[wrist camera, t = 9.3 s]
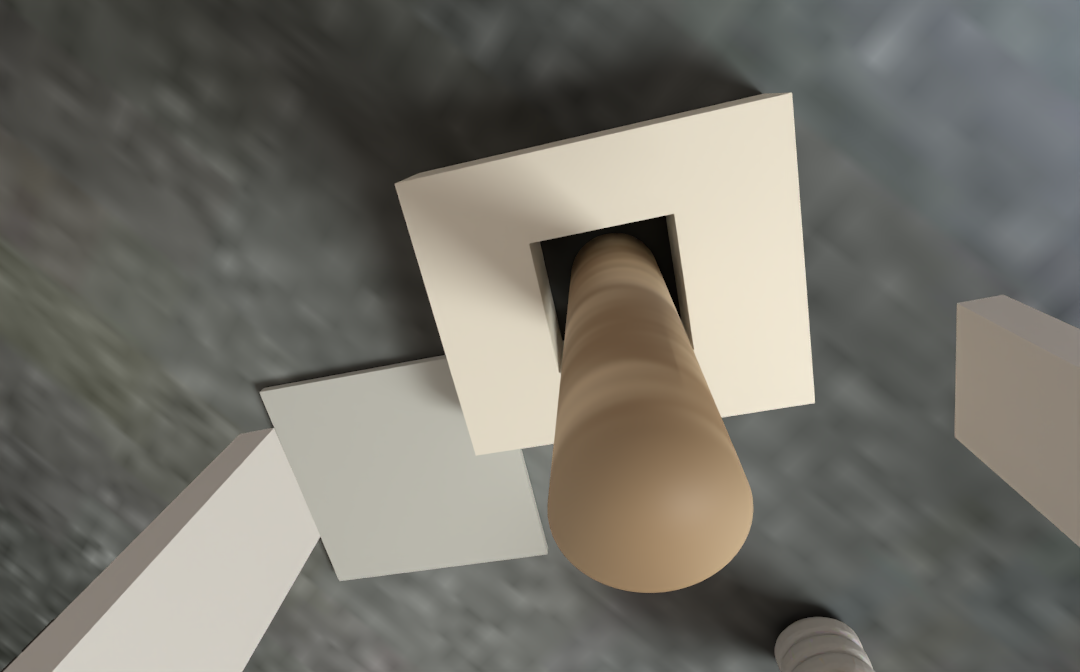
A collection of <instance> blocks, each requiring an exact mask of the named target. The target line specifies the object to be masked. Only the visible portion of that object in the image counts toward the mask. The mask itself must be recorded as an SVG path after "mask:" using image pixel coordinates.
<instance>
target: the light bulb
mask: <svg viewBox="0 0 1080 672" xmlns="http://www.w3.org/2000/svg"><path fill="white" fill-rule="evenodd" d="M774 651H775V658H776V661H777V664H778V667H779V669H780V671H781V672H875V671H874V670H873V668H872V665H871V662H870V660H869V658H868V656H867V655H866V653H865V651H864V650H863V646H862V644H861V642H860V640H859V638H858V636H857V635H856V634H855V632H854V631H853V630H852V629H851V628H850V627H849V626H847V625H846V624H845V623H843V622H841V621H838V620H836V619H832V618H827V617H808V618H805V619H801V620H798V621H796V622H794V623H793V624H791V625H790V626H788V627H787V628H786V629H785V630H783V631H782V632H781V634H780V635H779V636H778V638H777V641H776V645H775V650H774Z"/></svg>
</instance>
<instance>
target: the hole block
mask: <svg viewBox="0 0 1080 672" xmlns="http://www.w3.org/2000/svg"><path fill="white" fill-rule="evenodd" d="M395 187H396V191H397V194H398V197H399V201H400V204H401V207H402V211H403V214H404V218H405V221H406V224H407V228H408V231H409V234H410V238H411V241H412V244H413V248H414V251H415V254H416V258H417V261H418V264H419V268H420V271H421V274H422V278H423V281H424V284H425V288H426V291H427V294H428V298H429V301H430V304H431V308H432V311H433V314H434V318H435V321H436V324H437V328H438V331H439V334H440V338H441V341H442V344H443V348H444V351H445V354H446V358H447V361H448V364H449V368H450V371H451V375H452V378H453V381H454V385H455V388H456V391H457V395H458V398H459V401H460V405H461V408H462V411H463V415H464V418H465V421H466V425H467V428H468V431H469V435H470V438H471V441H472V445H473V448H474V451H475V455H476V456H477V455H484V454H490V453H496V452H503V451H509V450H516V449H522V448H529V447H535V446H541V445H548V444H554V437H555V428H556V418H557V408H558V398H559V388H560V378H561V369H562V359H563V349H564V341H562V337H561V333H560V328H559V324H558V319H557V315H556V310H555V306H554V302H553V297H552V293H551V288H550V284H549V279H548V275H547V270H546V266H545V262H544V257H543V253H542V248H541V244H540V241H544V240H549V239H554V238H559V237H563V236H568V235H573V234H578V233H583V232H588V231H592V230H597V229H602V228H607V227H612V226H617V225H622V224H626V223H631V222H636V221H641V220H646V219H651V218H655V217H660V216H665V215H666V222H667V228H668V235H669V242H670V248H671V255H672V261H673V268H674V275H675V281H676V288H677V294H678V301H679V308H680V314H681V319H680V320H681V322H682V325H683V327H684V329H685V332H686V334H687V337H688V339H689V341H690V344H691V346H692V349H693V351H694V353H695V356H696V358H697V361H698V363H699V365H700V368H701V370H702V373H703V375H704V377H705V380H706V382H707V385H708V387H709V389H710V392H711V394H712V396H713V399H714V401H715V404H716V406H717V408H718V411H719V413H720V416H721V417H727V416H734V415H740V414H747V413H753V412H760V411H766V410H772V409H779V408H785V407H792V406H798V405H804V404H811V403H815V396H814V383H813V369H812V356H811V343H810V329H809V316H808V302H807V289H806V275H805V262H804V248H803V235H802V221H801V208H800V195H799V181H798V168H797V154H796V141H795V127H794V114H793V100H792V93H770V94H760V95H756V96H751V97H747V98H743V99H738V100H734V101H730V102H725V103H721V104H717V105H712V106H708V107H704V108H699V109H695V110H691V111H686V112H682V113H678V114H673V115H669V116H665V117H660V118H656V119H652V120H647V121H643V122H639V123H634V124H630V125H625V126H621V127H617V128H612V129H608V130H604V131H599V132H595V133H591V134H586V135H582V136H578V137H573V138H569V139H565V140H560V141H556V142H552V143H547V144H543V145H539V146H534V147H530V148H526V149H521V150H517V151H513V152H508V153H504V154H500V155H495V156H491V157H486V158H482V159H478V160H473V161H469V162H465V163H460V164H456V165H452V166H447V167H443V168H439V169H434V170H430V171H426V172H421V173H418V174H416V175H413V176H411V177H409V178H406V179H404V180H402V181H400V182H397V183H395Z"/></svg>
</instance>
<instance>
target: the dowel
mask: <svg viewBox="0 0 1080 672" xmlns="http://www.w3.org/2000/svg"><path fill="white" fill-rule="evenodd" d="M752 517H753V498H752V493H751V488H750V486H749V483H748V481H747V478H746V476H745V473H744V471H743V468H742V466H741V464H740V461H739V459H738V456H737V454H736V452H735V449H734V447H733V444H732V442H731V440H730V437H729V435H728V432H727V430H726V428H725V425H724V423H723V420H722V418H721V416H720V413H719V411H718V408H717V406H716V404H715V401H714V399H713V396H712V394H711V392H710V389H709V387H708V385H707V382H706V380H705V377H704V375H703V373H702V370H701V368H700V365H699V363H698V361H697V358H696V356H695V353H694V351H693V349H692V346H691V344H690V341H689V339H688V337H687V334H686V332H685V329H684V327H683V325H682V322H681V320H680V317H679V315H678V313H677V310H676V308H675V305H674V303H673V301H672V298H671V296H670V293H669V291H668V289H667V286H666V284H665V282H664V279H663V277H662V274H661V272H660V270H659V267H658V265H657V262H656V260H655V258H654V256H653V254H652V252H651V251H650V249H649V248H648V247H647V246H646V245H645V244H644V243H643V242H642V241H640V240H639V239H637V238H635V237H633V236H631V235H628V234H624V233H607V234H603V235H600V236H598V237H595V238H593V239H592V240H590V241H589V242H587V243H586V244H585V245H584V246H583V247H582V248H581V249H580V251H579V252H578V254H577V255H576V257H575V259H574V262H573V265H572V271H571V280H570V290H569V300H568V310H567V319H566V329H565V339H564V349H563V359H562V369H561V378H560V388H559V398H558V408H557V418H556V428H555V437H554V447H553V457H552V467H551V477H550V487H549V496H548V520H549V525H550V529H551V532H552V535H553V538H554V540H555V541H556V543H557V545H558V547H559V549H560V550H561V551H562V553H563V554H564V556H565V557H566V558H567V559H568V560H569V561H570V562H571V563H572V564H573V565H574V566H575V567H576V568H578V569H579V570H580V571H581V572H583V573H584V574H586V575H587V576H589V577H591V578H592V579H594V580H596V581H598V582H600V583H602V584H605V585H608V586H611V587H613V588H617V589H621V590H625V591H632V592H640V593H658V592H668V591H674V590H678V589H682V588H686V587H689V586H692V585H694V584H697V583H699V582H701V581H703V580H705V579H707V578H709V577H711V576H712V575H714V574H715V573H717V572H718V571H720V570H721V569H722V568H723V567H724V566H726V565H727V564H728V563H729V562H730V561H731V560H732V559H733V557H734V556H735V555H736V554H737V553H738V551H739V550H740V548H741V547H742V545H743V544H744V542H745V540H746V538H747V535H748V533H749V530H750V527H751V523H752Z"/></svg>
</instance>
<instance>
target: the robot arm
mask: <svg viewBox="0 0 1080 672" xmlns="http://www.w3.org/2000/svg"><path fill="white" fill-rule="evenodd" d="M955 438H957V439H958V440H959V441H960V442H961V443H962V444H963V445H964V446H966V447H967V448H968V449H969V450H970V451H971V452H972V453H974V454H975V455H976V456H977V457H978V458H979V459H980V460H981V461H983V462H984V463H985V464H986V465H987V466H988V467H989V468H991V469H992V470H993V471H994V472H995V473H996V474H997V475H999V476H1000V477H1001V478H1002V479H1003V480H1004V481H1005V482H1006V483H1008V484H1009V485H1010V486H1011V487H1012V488H1013V489H1014V490H1016V491H1017V492H1018V493H1019V494H1020V495H1021V496H1022V497H1024V498H1025V499H1026V500H1027V501H1028V502H1029V503H1030V504H1031V505H1033V506H1034V507H1035V508H1036V509H1037V510H1038V511H1039V512H1041V513H1042V514H1043V515H1044V516H1045V517H1046V518H1047V519H1048V520H1050V521H1051V522H1052V523H1053V524H1054V525H1055V526H1056V527H1058V528H1059V529H1060V530H1061V531H1062V532H1063V533H1064V534H1066V535H1067V536H1068V537H1069V538H1070V539H1071V540H1072V541H1073V542H1075V543H1076V544H1077V545H1078V546H1079V547H1080V329H1078V328H1076V327H1073V326H1071V325H1069V324H1067V323H1065V322H1062V321H1060V320H1058V319H1056V318H1054V317H1051V316H1049V315H1047V314H1045V313H1042V312H1040V311H1038V310H1036V309H1034V308H1031V307H1029V306H1027V305H1025V304H1023V303H1020V302H1018V301H1016V300H1014V299H1011V298H1009V297H1007V296H1005V295H1000V296H994V297H989V298H983V299H978V300H972V301H967V302H961V303H957V334H956V390H955ZM319 538H320V534H319V532H318V529H317V527H316V525H315V522H314V520H313V518H312V515H311V513H310V511H309V508H308V506H307V504H306V501H305V499H304V497H303V494H302V492H301V490H300V487H299V485H298V483H297V480H296V478H295V476H294V473H293V471H292V469H291V466H290V464H289V462H288V459H287V457H286V455H285V452H284V450H283V448H282V445H281V443H280V441H279V438H278V436H277V434H276V431H275V429H274V428H271V429H265V430H260V431H254V432H249V433H243V434H239V435H238V436H237V437H236V438H235V439H234V440H233V441H232V442H231V443H230V444H229V445H228V446H227V447H226V448H225V449H224V450H223V451H222V452H221V453H220V454H219V455H218V456H217V457H216V458H215V459H214V460H213V461H212V462H211V463H210V464H209V465H208V466H207V467H206V468H205V469H204V470H203V471H202V472H201V473H200V474H199V475H198V476H197V477H196V478H195V479H194V480H193V481H192V482H191V484H190V485H189V486H188V487H187V488H186V489H185V490H184V491H183V492H182V493H181V494H180V495H179V496H178V497H177V498H176V499H175V500H174V501H173V502H172V503H171V504H170V505H169V506H168V507H167V508H166V509H165V510H164V511H163V512H162V513H161V514H160V515H159V516H158V517H157V518H156V519H155V520H154V521H153V522H152V523H151V524H150V525H149V526H148V527H147V528H146V529H145V530H144V531H143V532H142V533H141V534H140V535H139V536H138V537H137V538H136V539H135V540H134V541H133V542H132V543H131V544H130V545H129V546H128V547H127V548H126V549H125V550H124V551H123V552H122V553H121V554H120V555H119V556H118V557H117V558H116V559H115V560H114V561H113V562H112V563H111V564H110V565H109V566H108V567H107V568H106V569H105V570H104V571H103V572H102V573H101V574H100V575H99V576H98V577H97V578H96V579H95V580H94V581H93V582H92V583H91V584H90V585H89V586H88V587H87V588H86V589H85V590H84V591H83V592H82V593H81V594H80V595H79V596H78V597H77V598H76V599H75V600H74V601H73V602H72V603H71V604H70V605H69V606H68V607H67V608H66V609H65V610H64V611H63V612H62V613H61V614H60V615H59V616H57V617H56V618H55V619H53V620H52V621H51V622H50V623H49V624H48V625H47V626H46V627H45V628H44V629H43V630H42V631H41V632H40V633H39V634H38V635H37V636H36V637H35V638H34V639H33V640H32V641H31V642H30V643H29V644H28V645H27V646H26V647H25V648H24V649H23V650H22V653H21V654H20V655H19V656H18V657H15V658H14V659H13V660H12V661H11V662H10V663H9V664H8V665H7V666H6V667H5V668H4V669H3V670H2V671H1V672H242V671H243V669H244V668H245V666H246V664H247V662H248V661H249V659H250V657H251V656H252V654H253V652H254V650H255V649H256V647H257V645H258V643H259V642H260V640H261V638H262V636H263V635H264V633H265V631H266V630H267V628H268V626H269V624H270V623H271V621H272V619H273V617H274V616H275V614H276V612H277V611H278V609H279V607H280V605H281V604H282V602H283V600H284V598H285V597H286V595H287V593H288V591H289V590H290V588H291V586H292V585H293V583H294V581H295V579H296V578H297V576H298V574H299V572H300V571H301V569H302V567H303V566H304V564H305V562H306V560H307V559H308V557H309V555H310V553H311V552H312V550H313V548H314V546H315V545H316V543H317V541H318V540H319Z"/></svg>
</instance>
